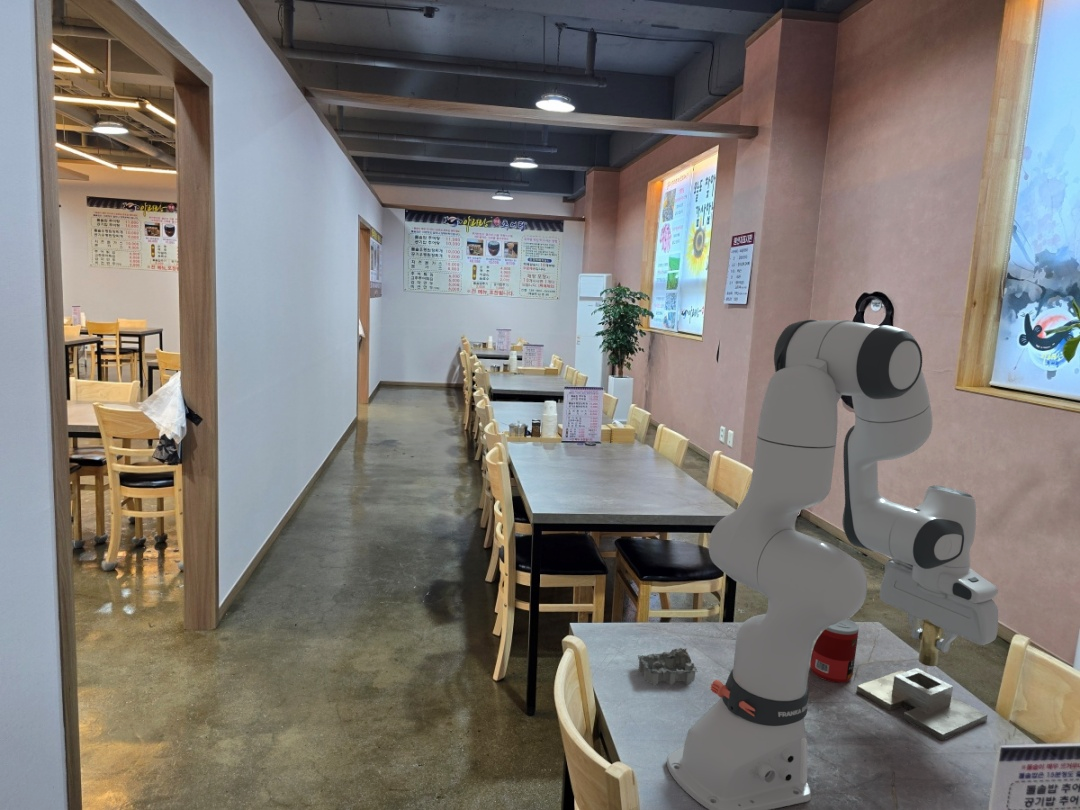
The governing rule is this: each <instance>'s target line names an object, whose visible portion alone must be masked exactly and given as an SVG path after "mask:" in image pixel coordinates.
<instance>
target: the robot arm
mask: <svg viewBox="0 0 1080 810" xmlns="http://www.w3.org/2000/svg"><path fill="white" fill-rule="evenodd" d="M773 362H774V363H773V364H774V371H775V373H774V374H772V376H771V377H770V379H769V381H768V383H767V384H768V385H767V386H766V390H765V393H764V397H763V402H762V404H761V410H760V413H759V421H758V425H757V426H758V427H757V434H756V443H755V451H754V460H753V467H752V473H751V479H750V483H749V487H748V490H747V492H746V494H745V496H744V498H743V500H742V501H741V503H740V504H739V505H738V507H737V508H736V509H735V510H734V511H733V512H731V513H730V514H726V516H724V517H723V518H721V519H720V520H719V521H718V522H717V523H716V524H715V525H714V527H713V529H712V531H711V533H710V536H709V540H708V552H709V557H710V560H711V562H712V563H713V564H714V565H715V566H716V567H717V568H718V569H719V570H721V572H723V573H724V574H725V575H727V577H729V578H731V579H732V580H733V581H734V582H736V583H739V584H741V585H743V586H745V587H747V588H750V589H751V590H753V591H755V592H757V593H759V594H761V595H764V596H765V597H766V598H767V601H768V602H767V603H768V604H767V605H768V606H767V609H766V610H767V611H766V613H763V614H758V615H757V614H756V615H754V616H751V617H749V618H747V619H746V620H745V621H744V622H743V623H742V624H741V625H740V627H739V628H738V630H737V632H736V639H735V648H734V657H733V666H732V667H733V668H732V669H731V671H730V673H729V675H728V677H727V680H726V682H725V684H723V682H721V680H718V679H715V680H713V682H712V683H711V686H710V691H711V692H712V693H714V694H715V695H717V696H718V697H719V699H718V700H717V701H716V702H715V703H714V704H713V705H712V706H711V707H710V708H709V709H708V710H707V711H706V712H705V713H704V714H703V715H702V716H701V717H700V718H699V719H698V720H697V721H696V722H695V723H694V724H693V725H692V726H691V727H690V728H689V729H688V732H687V734H686V737H685V739H684V745H682V746H681V747H679V748H678V749H676V750H674V751H673V752H671V753H669V754H668V756H667V758H666V766H667V769H668V771H669V773H670V775H671V776H672V778H673V779H674V780H675V782H677V784H678V785H679V786H680V787H681V788H682V790H683V791H684V792H686V793H687V794H688V795H689V796H691V798H693V799H694V801H696V802H698V803H699V804H700V805H701V806H703V807H705V808H706V809H708V810H774V809H778V808H783V807H784V808H785V807H786V806H787V807H789V806H792V805H793V806H794V805H798V804H803V803H806V802H807V803H808V802H809V801H810V800H811V796H812V795H811V794H812V793H811V788H810V786H809V784H808V739H807V734H806V728H805V727H806V726H805V717H806V716H807V713H808V707H809V704H810V699H809V695H810V694H809V693H810V692H809V691H810V690H809V687H808V679H809V671H810V668H811V666H810V662H811V657H812V652H813V648H814V645H815V643H816V641H817V639H818V637H819V636H820V635H821V633H822V632H823V631H824V630H825V629H827V628H828V627H829V626H831V625H834V624H836V623H840V622H843V621H845V620H847V619H850V618H852V617H853V616H855V614H857V612H859V611H860V609H861V608H862V606H863V605H864V602H865V600H866V597H867V593H868V580H867V579H868V578H867V574H866V570H865V568H864V566H863V564H862V563H861V562H860V561H859V559H858V560H857V559H856V558H855V557H853V556H852V555H850V554H849V553H847V552H845V551H844V550H842V549H841V548H839V547H837V546H836V545H834V544H832V543H830V542H827V541H824V540H821V539H819V538H816V537H814V536H810V535H807V534H805V533H803V532H799V531H798V530H796V521H797V517H798V516H799V513H800V512H801V510H805V509H810V508H812V507H815V506H817V505H819V504H820V503H821V502H823V501H824V500H825V499H826V498H827V496H828V495H829V494H830V493H831V492H830V491H831V489H832V488H831V487H832V479H833V472H834V463H835V454H836V446H837V438H838V437H837V436H838V403H839V401H840V399H841V398H842V396H849V397H851V400H852V407H853V413H854V419H855V420H854V421H855V422H854V425H853V426H852V427H850V428H849V430H848V431H847V433H846V435H845V437H844V443H843V454H842V455H843V477H844V478H843V480H844V481H843V482H844V508H843V513H842V521H841V522H842V528H843V532H844V534H845V536H846V538H847V540H848V541H849V544H852V545H853V546H854V547H857V548H860V549H865V550H868V551H871V552H875V553H878V554H881V555H884V556H886V557H889V558H888V559H887V560H886V562H885V563H884V575H883V578H882V581H881V584H880V588H879V593H878V594H879V595H878V596H879V598H880V600H881V602H882V603H884V604H886V605H887V606H891V607H893V608H894V609H895V608H896V610H900V611H902V612H904V613H906V614H907V621H908V623H909V625H910V628H911V638H912V639H914V640H917V641H919V642H921V637H922V630H923V628H922V626H921V623H920V620H922V621H923V620H925V619H928V620H929V621H930V622H931V623H932V624H933V625H936V626H938V627H940V628H942V630H944V632H943V634H944V635H945V636H946V637H944V638H941V639H940V640H937V643H936V644H937V646H936V649H938V650H939V652H942V653H943V654H944V653H948V652H949V651H950V647H951V643H953V641H955V639H956V638H957V637H960V638H963V639H966V640H967V641H970V642H972V643H974V644H977V645H980V646H984V645H987V644H990V643H992V642H993V641H995V640H996V638H997V635H998V629H999V609H998V605H997V603H996V602H995V600H993V599H994V598H997V596H998V593H999V589H998V587H997V585H995V584H993V583H992V582H990V581H989V580H987V579H986V578H984V577H983V576H982V575H980V574H979V573H978V572H976V571H975V570H974V569H972V568H971V557H970V551H971V547H972V546H973V544H974V542H975V533H976V526H977V525H976V524H977V506H976V505H977V504H976V500H975V497H973V496H972V495H971V494H970V493H968V492H965V491H962V490H959V489H955V488H952V487H951V488H950V487H947V486H946V487H945V486H941V485H931V486H928V487H927V488H926V492H925V493H924V497H923V501H922V502H921V503H920V504H919V505H917V506H914V507H910V506H907V505H904V504H901V503H897V502H893V501H891V500H889V499H888V498H886V497H884V496H883V495H882V494H881V493H880V492H879V488H878V482H879V481H878V477H879V476H878V462H880V461H892V460H896V459H900V458H904V457H905V456H907V455H910V454H912V453H914V452H916V451H918V450H919V449H920V448H921V447H922V446H924V445H925V443H926V442H927V440H928V439H929V438H930V436H931V434H932V430H933V413H932V412H933V411H932V406H931V400H930V396H929V391H928V385H927V382H926V378H925V375H924V373H923V372H924V371H923V369H922V367H923V353H922V348H921V347H920V344H919V343H918V342H917V340H916V338H915V337H914V336H913V335H912V334H911V333H910V332H909V331H907V330H905V329H902V328H899V327H896V326H892V325H877V324H876V325H874V324H871V323H870V324H869V323H863V322H856V321H855V322H854V321H852V320H840V319H828V320H825V319H824V320H817V319H806V320H800V321H797V322H793V323H791V324H789V325H788V326H786V327H785V328H784V330H782V332H781V333H780V335H779V337H778V338H777V341H776V343H775V346H774V352H773Z"/></svg>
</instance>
